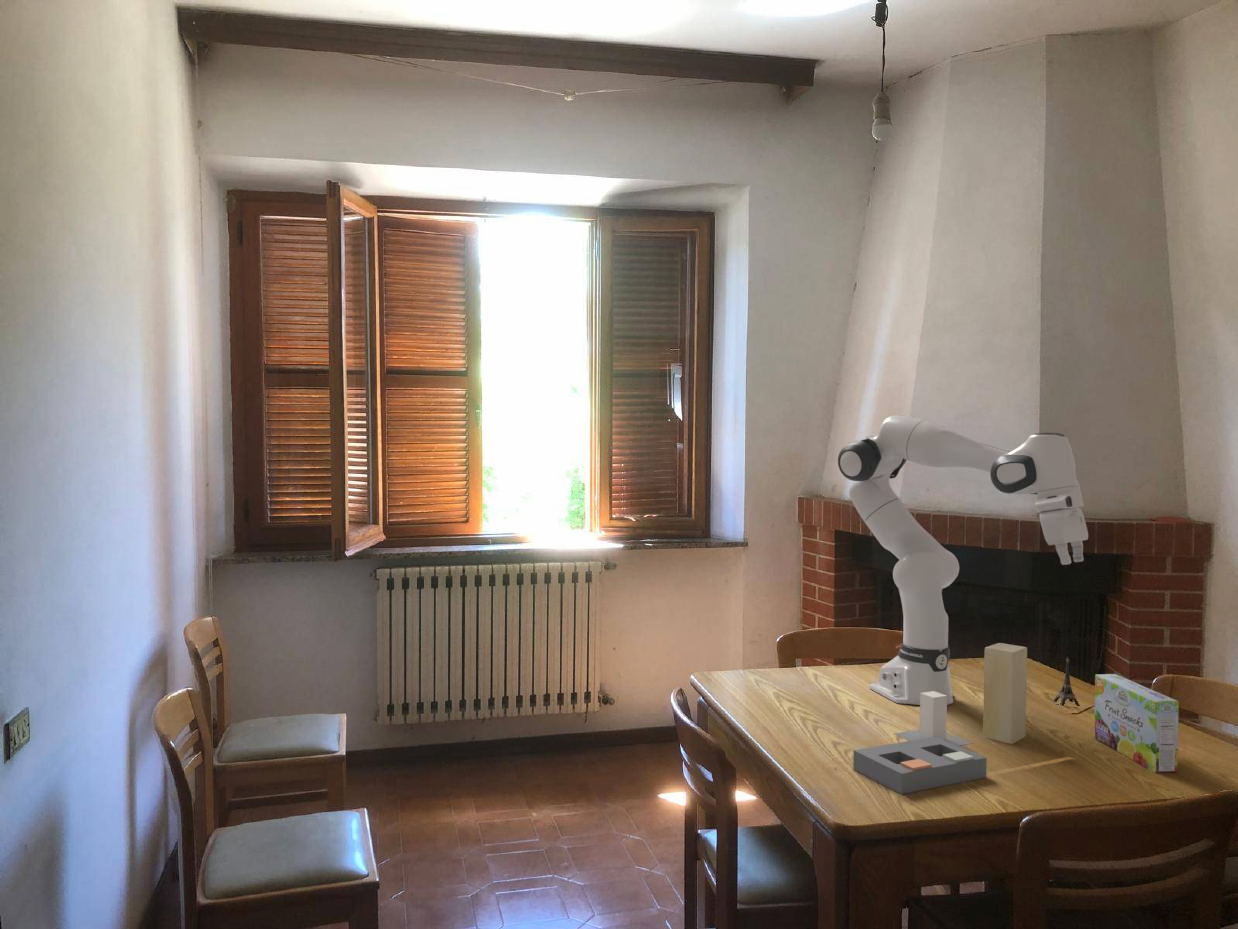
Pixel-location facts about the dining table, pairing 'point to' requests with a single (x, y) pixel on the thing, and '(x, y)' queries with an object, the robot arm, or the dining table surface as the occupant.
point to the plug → (933, 715)
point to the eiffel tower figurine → (1066, 689)
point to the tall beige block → (1005, 692)
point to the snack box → (1137, 722)
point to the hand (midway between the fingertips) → (1072, 563)
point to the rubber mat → (915, 735)
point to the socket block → (919, 764)
